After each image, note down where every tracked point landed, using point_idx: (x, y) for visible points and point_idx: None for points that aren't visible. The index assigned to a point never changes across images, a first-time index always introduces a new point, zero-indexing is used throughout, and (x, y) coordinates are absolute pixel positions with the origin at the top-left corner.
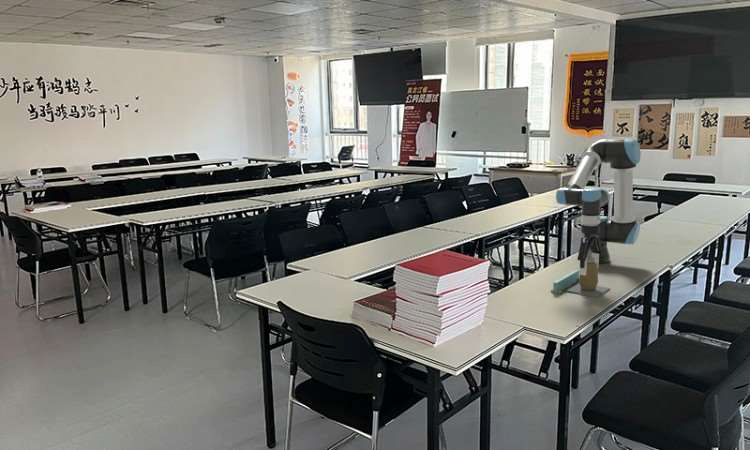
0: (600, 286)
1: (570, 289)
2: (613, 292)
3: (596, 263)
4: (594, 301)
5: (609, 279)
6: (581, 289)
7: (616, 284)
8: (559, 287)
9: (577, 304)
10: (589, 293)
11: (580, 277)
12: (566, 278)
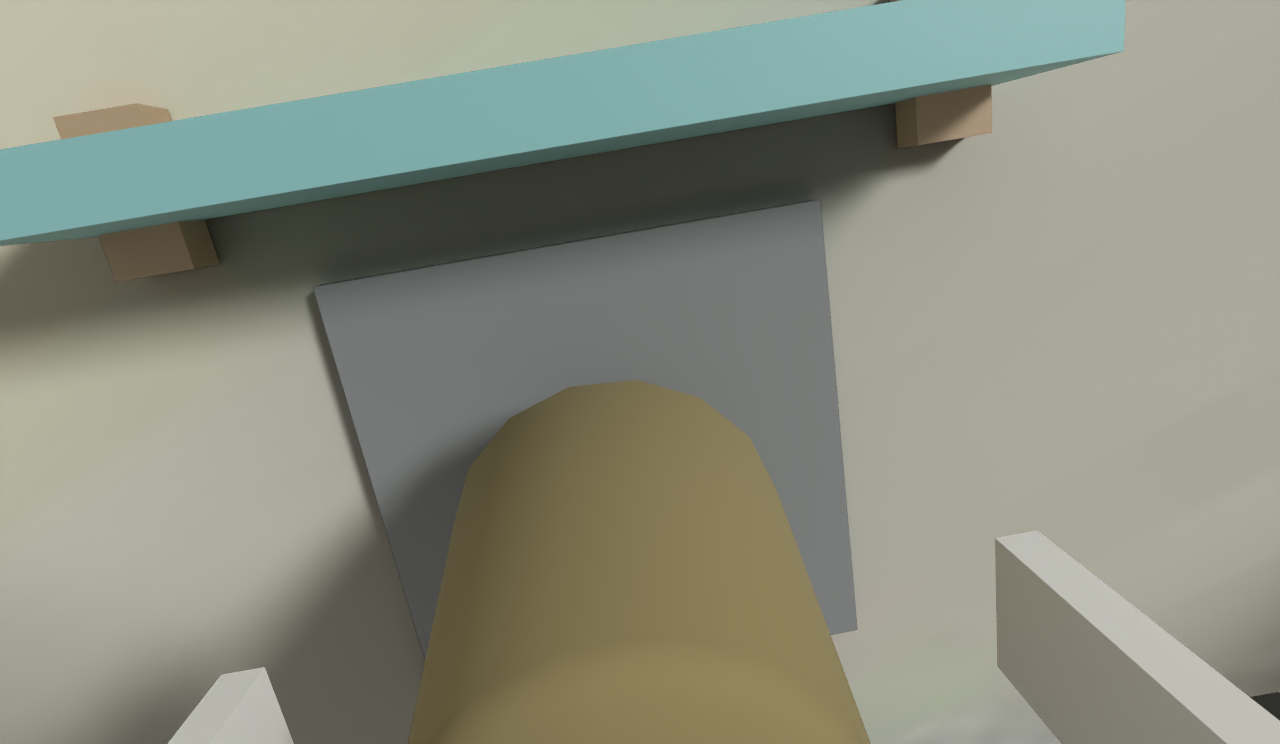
0: (842, 519)
1: (406, 305)
2: None
3: (1071, 721)
4: (292, 736)
5: (1273, 393)
6: None
7: (1096, 565)
8: (165, 221)
9: (17, 677)
10: None
11: (464, 506)
12: (443, 167)
